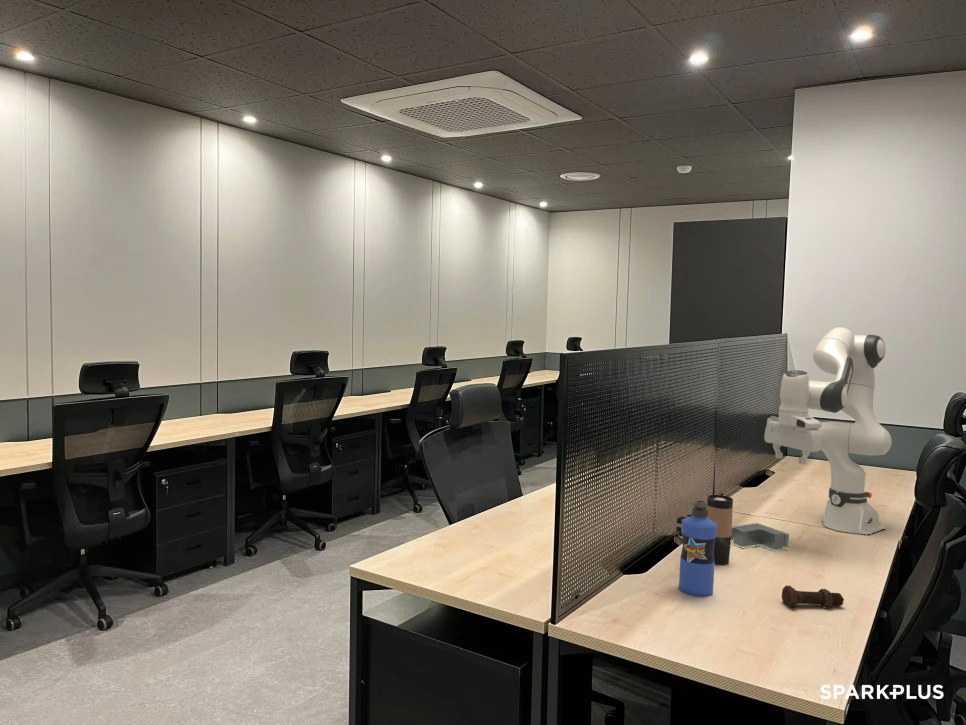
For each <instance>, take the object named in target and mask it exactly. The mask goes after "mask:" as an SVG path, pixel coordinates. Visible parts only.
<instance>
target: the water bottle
mask: <svg viewBox="0 0 966 725" xmlns="http://www.w3.org/2000/svg"><path fill="white" fill-rule="evenodd" d="M692 505H693V507H692V509H691V514H693V515H692V516H691V517H686V518H685V519H683V520H682V524H681V526H680V527H681V533H682V537H681V539H682V540H681V541H682V542H681V543H682V548H681V555H680V559H679V561H680V562H679V575H678V576H679V577H678V590H679V592H682V593H683V594H685V595H688V596H691V597H698V598H700V597H701V598H705V597H710V596H712V595H713V594H714V580H715V579H714V578H715V565H716V564H715V561H714V545H715V540H716V537H717V524H716V523H715V522H713V521H712V520H710V519H708V517H707V516H708V509H707V507H708V506H707V503H706V502H705V501H704V500H697V501H695V502H694V503H693V504H692Z"/></svg>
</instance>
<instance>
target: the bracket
mask: <svg viewBox="0 0 966 725" xmlns="http://www.w3.org/2000/svg"><path fill="white" fill-rule="evenodd" d="M762 525H763V524H762ZM762 525H755V526H748V527H740V528H734V539H733V541H732V542H733V543H735V544H738V545H740V546H742V547H743V546H750V545H756V544H762V545H764V546H767V547H769V548H772V549H774V550H775V549H782V548H783V547H784V546H783V545H784V533H785V532H784V533H782V532H783V531H782V532H779V531H780V530H779V531H776V530H777V529H776V530H773V529H774V528H773V529H771V528H772V527H771V528H768V527H769V526H768V527H765V526H766V525H765V526H762Z"/></svg>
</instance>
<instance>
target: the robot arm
mask: <svg viewBox="0 0 966 725" xmlns="http://www.w3.org/2000/svg"><path fill="white" fill-rule="evenodd" d="M885 356H886V344H885V341H884V340H883V338H882V337H881V336H880V335H875V334H867V335H866V334H864V335H863V334H854V332H852V331H851V330H850V329H848V328H846V327H842V326H841V327H840V326H839V327H838V326H837V327H834V328H832V329H830V330H829V331H828V332H827V333H826V334H825V335H824V336H823V337H822V338H821V339H820V340H819V342H818V344H817V345H816V347H815V348H814V351H813V354H812V357H813V362H814V364H815V365H816V366H817V367H818V368H819V369H820V370H821V371H823V372H825V373H827V374H831V375H835V379H834V380H831V381H821V380H820V381H819V380H812V379H811V380H810V376H809V373H808V372H807V371H804V370H798V369H795V370H794V369H793V370H788V371H785V372H784V373H783V374H782V379H781V384H780V391H779V400H780V404H779V410H778V416H775V415H771V416H770V417H768V418H767V419H766V426H765V430H764V441H765V443H769V444H772V448H773V450H774V453H775V456H774V457H775V458H777V459H783V455H784V454H783V452H781V449H780V448H781V447H782V446H783V447H787V448H792V449H795V450H800V451H801V454H802V455H801V457H799V458H798V463H799V464H801V465H806V464H807V458H808V457H809V456H810V455H811V453H818V452H820V451H821V452H822V453H823V454H824V455H825V457H826V458H827V460H828V463H829V465H830V467H829V468H830V487H829V490H828V500H826V504H825V509H824V517H822V518H821V522H823V526H824V527H826V528H828V529H830V530H833V531H837V532H843V533H849V534H857V535H864V534H865V535H864V536H869V535H868V534H870V535H872V533H873V534H875V533H874V532H876V533H878V532H877V531H879V530H882V529H884V528H886V526H885V525H884V524H882V523H880V522H879V517H880V516H879V513H878V512H879V511H877V510H876V509H875V508H874V507H873V506H872V505H871V504H870V503H869V502H868V499H867V498H869V499H872V497H873V493H872V492H868V491H865V488H866V487H865V486H866V476H867V475H866V471H865V469H864V468H863V467H862V466H861V465H859V464H858V463H856V462H854V461H853V460H852V459H851V458H850V457H849V454H852V455H853V454H856V455H861V456H862V455H863V456H884V455H886V454H887V453H888V452H889V451H890V449H891V447H892V443H893V442H892V437H891V435H890V432H889V431H888V430H887V429H886V428H885V427H884V426H882V424H881V423H879V421H878V420H877V418H876V416H875V413H874V394H875V387H876V386H875V382H876V381H875V380H876V379H875V376H876V375H875V369H874V368H876V367H878V365H879V364H880V363H881V361H883V360H884V358H885ZM809 409H810V410H815V411H816V410H817V411H825V412H827V413H834V414H835V413H839V412H840V411H842V412H843V413H845V414H846V415H848V416H849V417H851V418H853V419H854V420H855V422H854V423H851V422H843V421H833V420H832V421H820V420H817V419H815V418H814V417H812V416H811V415H809ZM886 529H887V528H886ZM882 531H883V530H882ZM879 532H880V531H879Z"/></svg>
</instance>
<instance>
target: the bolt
mask: <svg viewBox="0 0 966 725" xmlns="http://www.w3.org/2000/svg"><path fill="white" fill-rule="evenodd" d="M781 600H782V602H783V605H784V604H785V605H786V606H785V605H784V606H785V607H787V608H788V607H789V609H795V607H796V605H816V606H817V605H818V606H820V605H821V606H822V608H823V607H825V608H824V609H830V608H831V607H832V606H839V607H840V606H842V605H843V604H844V602H845V599H844V597H843V596H842V594H841V593H840V592H831V591H830V590H828V589H827V588H820V589H819V590H818V591H807V590H806V591H803V590H796V589H795V587H792V586H791V585H784V587H783V588H782V591H781ZM821 606H820V607H821Z"/></svg>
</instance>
